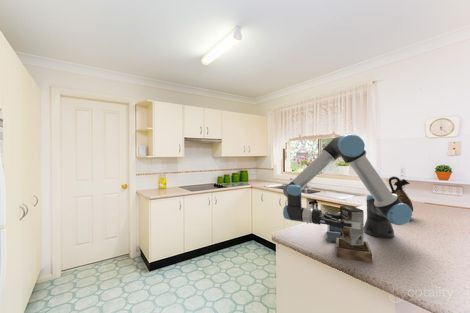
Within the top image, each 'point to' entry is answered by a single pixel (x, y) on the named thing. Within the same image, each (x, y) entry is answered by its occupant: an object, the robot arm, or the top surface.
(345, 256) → the walnut caddy
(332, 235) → the slate tray
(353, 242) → the coffee box
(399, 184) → the ceramic jug
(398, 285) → the top surface
